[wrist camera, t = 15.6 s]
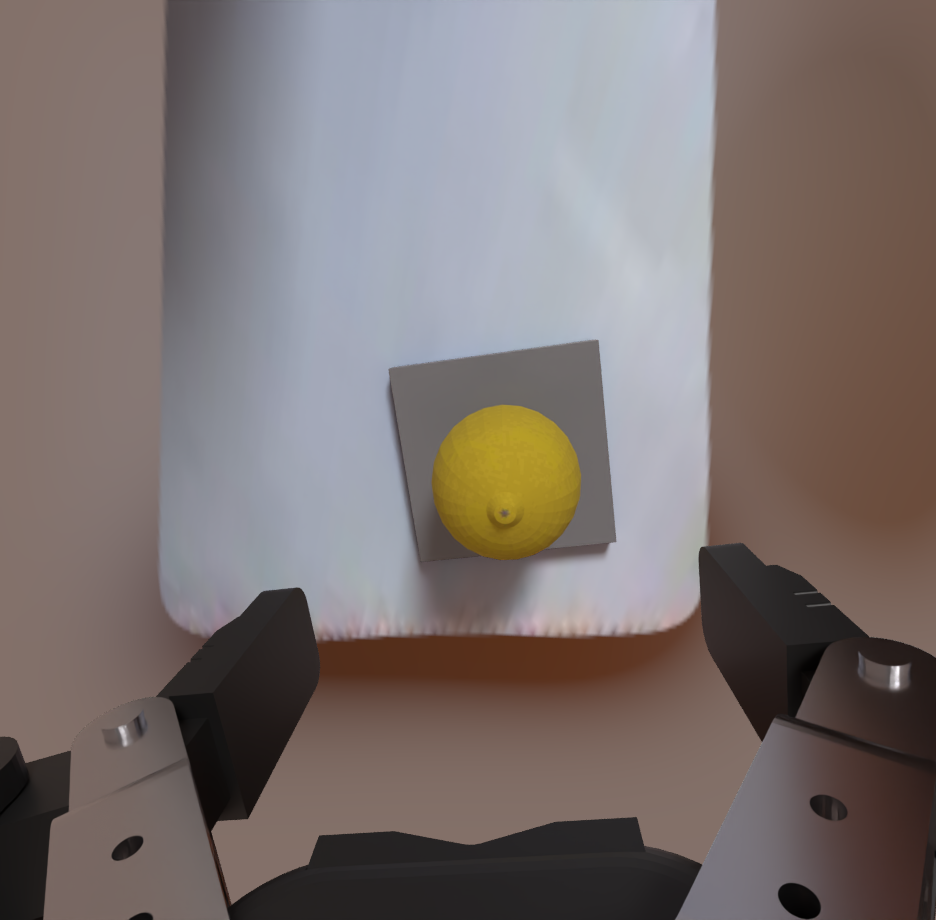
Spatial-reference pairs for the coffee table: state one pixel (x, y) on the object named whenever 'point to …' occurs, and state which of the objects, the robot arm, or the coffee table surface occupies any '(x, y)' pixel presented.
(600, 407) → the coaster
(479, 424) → the lemon
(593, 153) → the coffee table surface
